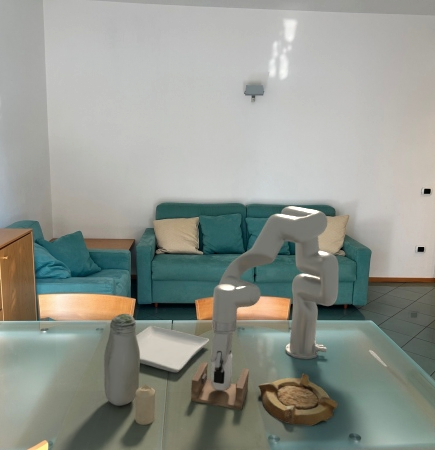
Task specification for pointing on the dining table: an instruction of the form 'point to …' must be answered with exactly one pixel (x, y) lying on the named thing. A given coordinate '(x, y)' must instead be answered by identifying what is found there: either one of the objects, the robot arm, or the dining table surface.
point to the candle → (145, 405)
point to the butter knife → (377, 357)
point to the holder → (209, 395)
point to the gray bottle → (121, 361)
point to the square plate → (168, 348)
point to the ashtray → (297, 401)
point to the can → (226, 375)
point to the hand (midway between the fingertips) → (221, 376)
